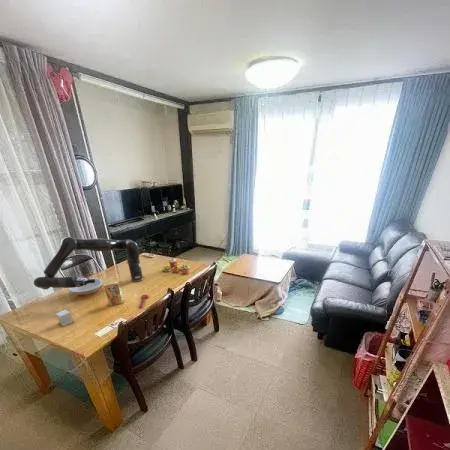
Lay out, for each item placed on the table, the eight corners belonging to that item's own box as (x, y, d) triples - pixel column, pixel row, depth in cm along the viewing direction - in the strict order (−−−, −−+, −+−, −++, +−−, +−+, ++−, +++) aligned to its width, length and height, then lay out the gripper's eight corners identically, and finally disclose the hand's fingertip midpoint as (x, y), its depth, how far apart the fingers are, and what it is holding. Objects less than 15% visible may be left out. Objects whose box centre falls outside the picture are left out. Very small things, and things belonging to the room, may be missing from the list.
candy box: (122, 300, 183) (117, 281, 176) (122, 303, 180) (118, 283, 173) (109, 303, 180) (103, 283, 173) (109, 306, 177) (104, 286, 169)
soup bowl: (110, 291, 196) (108, 283, 193) (77, 303, 181) (74, 295, 178) (97, 282, 211) (94, 275, 208) (65, 293, 196) (63, 285, 192)
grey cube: (73, 322, 160) (69, 312, 156) (62, 326, 156) (58, 316, 152) (69, 318, 163) (65, 309, 160) (59, 323, 159) (55, 313, 156)
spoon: (142, 296, 189) (142, 294, 188) (148, 295, 189) (148, 294, 188) (137, 308, 174) (136, 306, 173) (143, 307, 174) (143, 306, 173)
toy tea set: (161, 271, 229) (159, 261, 224) (170, 265, 242) (169, 255, 237) (186, 275, 220) (185, 265, 216) (195, 269, 233) (194, 259, 228)
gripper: (61, 281, 162) (89, 279, 163) (70, 273, 174) (96, 271, 175) (65, 291, 166) (92, 290, 167) (74, 283, 177) (99, 281, 178)
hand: (94, 280), depth 171 cm, fingers closed
